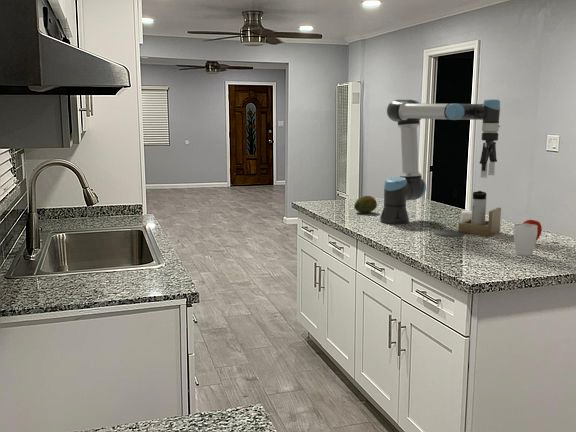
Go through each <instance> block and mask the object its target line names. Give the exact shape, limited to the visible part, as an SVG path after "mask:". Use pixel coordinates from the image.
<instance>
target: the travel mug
mask: <svg viewBox="0 0 576 432" xmlns="http://www.w3.org/2000/svg"><path fill="white" fill-rule="evenodd" d="M486 207H487V192H485V191H482V190H477V191H473V192H472V201H471V211H472V220H471V224H478V225H485V221H486V210H487V208H486Z"/></svg>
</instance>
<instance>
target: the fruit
mask: <svg viewBox="0 0 576 432" xmlns="http://www.w3.org/2000/svg"><path fill="white" fill-rule="evenodd" d="M353 207H354V210H356V212H359V213H362V214H366V213H371V212H373V211H375V210H376V209H377V208H378V202H377V200H376V199H375V197H373V196H371V195H364V196H361V197H360V198H358V199H357V200H355V202H354V205H353Z"/></svg>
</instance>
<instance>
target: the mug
mask: <svg viewBox="0 0 576 432" xmlns="http://www.w3.org/2000/svg"><path fill="white" fill-rule="evenodd" d="M460 215H461V216H460V222H463V221H465V220H467V219H472V210H461V212H460Z"/></svg>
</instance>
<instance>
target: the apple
mask: <svg viewBox="0 0 576 432" xmlns="http://www.w3.org/2000/svg"><path fill="white" fill-rule="evenodd" d="M522 224H533V225H537V238H536V241H537V240H538V239H539V238H540V236H541V235H542V232H543V231H542V230H543V228H542V224H541V222H539V221H538V220H535V219H527V220H525V221H523V223H522Z"/></svg>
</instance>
